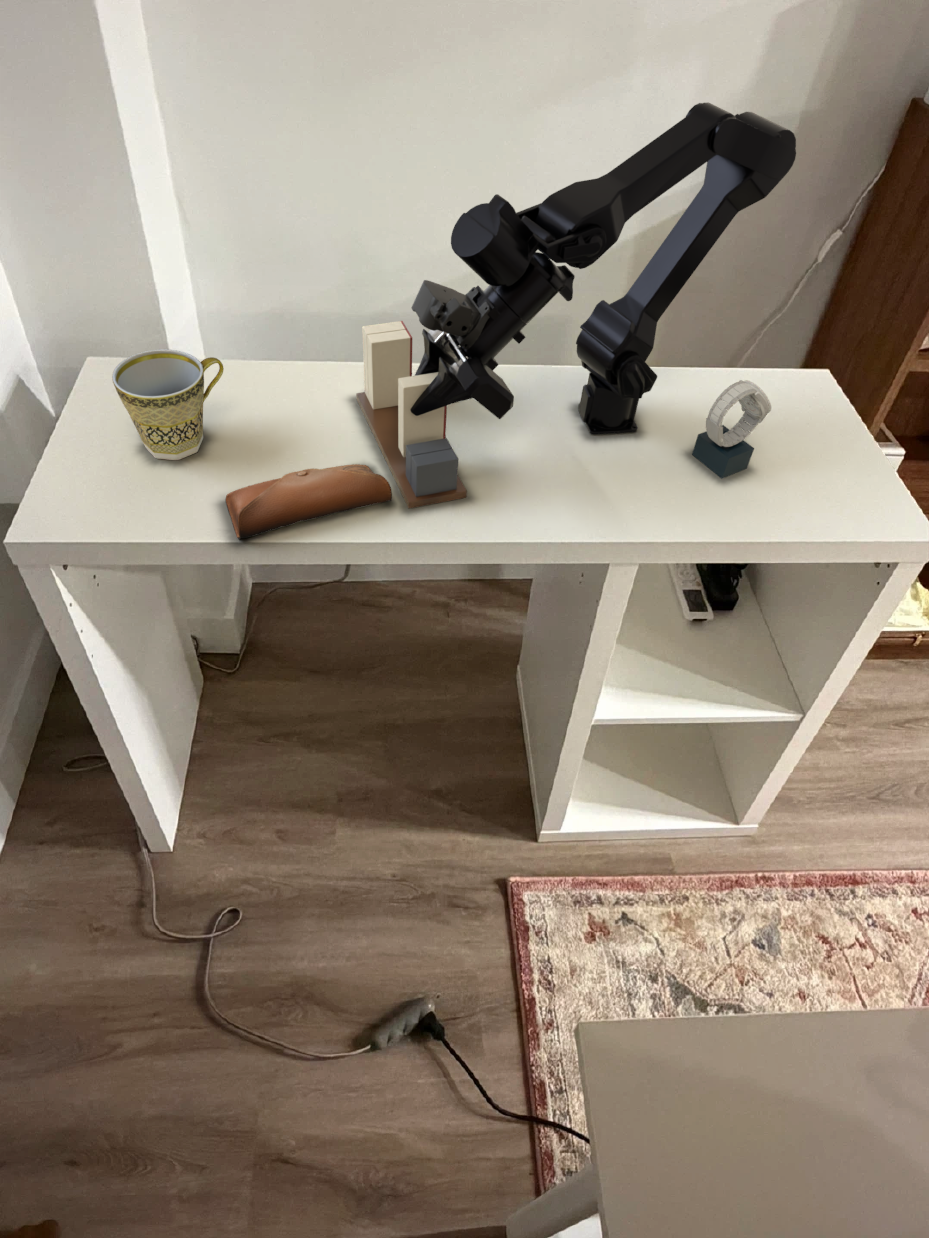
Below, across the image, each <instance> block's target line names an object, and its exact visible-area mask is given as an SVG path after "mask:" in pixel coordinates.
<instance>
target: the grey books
mask: <svg viewBox="0 0 929 1238" xmlns="http://www.w3.org/2000/svg"><path fill="white" fill-rule="evenodd" d="M458 473H459V457H458V455H457V454H456V452H455V450H454V448H453V447H452V445H451V443H450V441H449V440H448V438H447V437H445V438H444V439H438V440H433V441H427V442H421V443H415V444H410V445H406V477H407V479H408V481H409V483H410V485H411V487H412V489H413V492H414V494H415V496H416V497H419V496H425V495H430V494H435V493H440V492H446V491H451V490H456V488H457V474H458Z"/></svg>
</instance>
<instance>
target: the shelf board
mask: <svg viewBox="0 0 929 1238" xmlns="http://www.w3.org/2000/svg"><path fill="white" fill-rule="evenodd" d="M355 394H356V396H355V397H356V402H357V403H358V406H359V408H360V410H361V412H362V414H363V416H364V418H365V420H366V423H367V424H368V426H369V429H370V431H371V433H372V435H373V437H374V439H375V441H376V444H377V445H378V447H379V449H380V451H381V454H382V456H383V458H384V460H385V462H386V465H387V466H388V469H389V471H390V472H391V475H392V477H393V479H394V481H395V483H396V485H397V487H398V489H399V492H400V494H401V496H402V497H403V500H404V502H405V504H406V506H407V509H414V508H419V507H425V506H429V505H435V504H440V503H446V502H450V501H456V500H460V499H466V498H467V496H468V491H467V489H466V487H465V484H464V483H463V481H462V479H461V478H460V476H459V474H458V473H457V488H456V490H451V491H446V492H440V493H435V494H430V495H425V496H419V497H416V496H415V494H414V492H413V489H412V487H411V485H410V483H409V481H408V479H407V477H406V457H403V455H402V453H401V451H400V449H399V447H398V406H392V407H386V408H380V409H373V408H372V406H371V404H370V402H369V400H368V398H367V396H366V394H365V391H363V392H357V393H355Z"/></svg>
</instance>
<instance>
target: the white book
mask: <svg viewBox="0 0 929 1238" xmlns="http://www.w3.org/2000/svg"><path fill="white" fill-rule="evenodd" d="M437 375H438V372H436V373H429V374H423V375H416V376H415V375H412V376H410V377H403V378H398V447H399V449H400V451H401V453H402V455H403V457H406V445H410V444H415V443H421V442H427V441H433V440H438V439H444V438H446V433H447V432H446V431H447V413H448V412H447V410H448V405H447V406H444V407H441V408H438V409H436V410H433V411H430V412H427V413H424V414H422V415H419V416H415V415H414V414H413V413H411V411H410V409H411V408H412V406H413V405H414V403H415V402H416V400H417V399H418V398H419V397H420V395H421V394H422V393H423V392H424V391H425V389H426V388H427V387H428V386H429V385H430V383H431V382H432V381H433V380H434V379H435V377H436V376H437Z"/></svg>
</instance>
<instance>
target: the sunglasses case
mask: <svg viewBox="0 0 929 1238" xmlns="http://www.w3.org/2000/svg"><path fill="white" fill-rule="evenodd" d="M224 500H225V501H224V502H225V505H226V508H227V510H228V515H229V518H230V520H231V523H232V527H233V530H234V532H235V537H236V539H238V540H240V539H247V538H248V539H249V538H251V537H255V536H257V535H262V534H265V533H268V532H271V531H274V530H277V529H280V528H284V527H289V526H291V525H294V524H297V523H300V522H305V521H306V522H307V521H310V520H315V519H318V518H319V519H320V518H323V517H327V516H330V515H334V514H338V513H343V512H348V511H352V510H355V509H359V508H360V509H361V508H363V507H368V506H369V507H370V506H373V505H377V504H381V503H387V502H392V500H393V492H392V486H391V485H390V482H389V481H388V479H386V477H384V476H383V475H381V474H378V473H376V472H374V471H372V470H371V468H370V467H369V465H367V464H360V463H359V464H357V463H356V464H354V463H353V464H344V465H337V466H331V467H325V468H315V467H313V468H307V469H302V470H297V471H292V472H289V473H286V474H284V475H282V477H279V478H275V479H274V478H273V479H270V480H266V481H261V482H258V483H254V484H251V485H247V486H245V487H241V488H238V489H235V490H233V491H231V492H228V493H227V494H226V496H225V499H224Z"/></svg>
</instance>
